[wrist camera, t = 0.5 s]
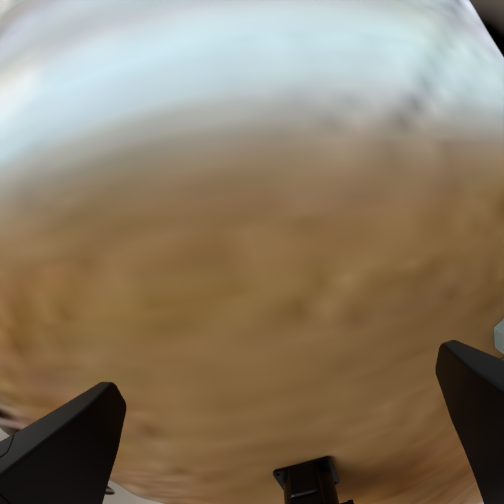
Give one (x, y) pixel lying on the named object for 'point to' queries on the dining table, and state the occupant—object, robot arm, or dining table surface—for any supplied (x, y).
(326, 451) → the dining table surface
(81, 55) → the dining table surface
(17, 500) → the robot arm
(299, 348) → the dining table surface
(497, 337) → the pale blue rectangular block
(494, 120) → the dining table surface
